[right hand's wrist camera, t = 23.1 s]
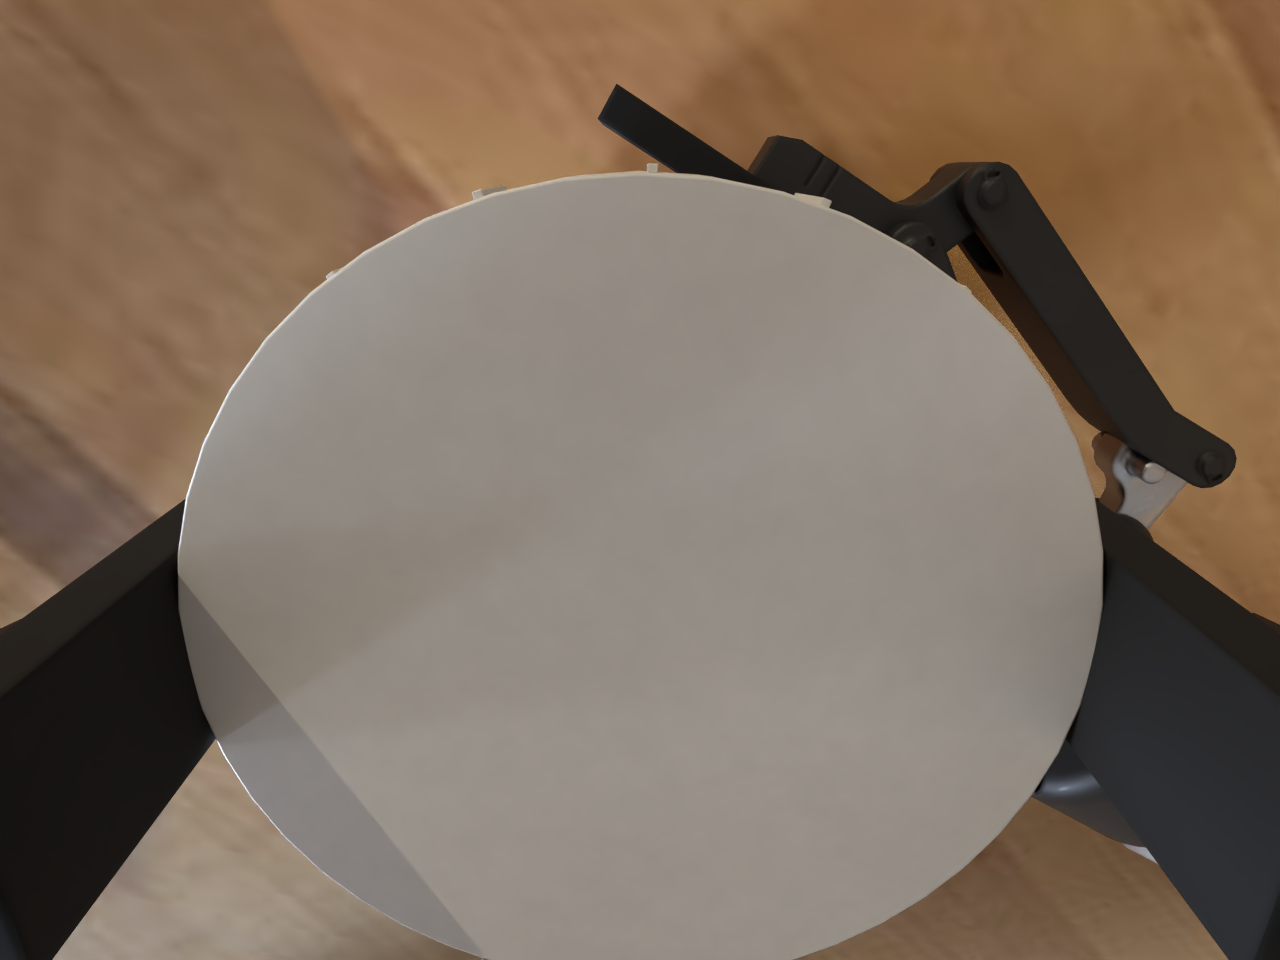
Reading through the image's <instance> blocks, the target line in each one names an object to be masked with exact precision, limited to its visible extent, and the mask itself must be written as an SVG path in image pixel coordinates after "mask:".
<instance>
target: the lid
mask: <svg viewBox="0 0 1280 960" xmlns="http://www.w3.org/2000/svg"><path fill="white" fill-rule="evenodd" d="M472 194H473V197H474V200H473V201H470V202H467V203H465V204H462V205H459V206H456V207H454V208H451V209H448V210H446V211H443V212H440V213H438V214H435V215H432V216H430V217H427V218H425V219H423V220H421V221H419V222H417V223H416V224H414V225H412V226H410V227H408V228H406V229H405V230H403V231H401V232H399V233H397V234H396V235H394V236H392V237H390V238H388V239H386V240H385V241H383V242H381V243H379V244H377V245H375V246H374V247H372V248H370V249H368V250H366V251H365V252H363V253H362V254H361V255H359V256H358V257H357V258H355V259H354V260H353V261H351V262H350V263H349V264H347V265H346V266H345V267H343V268H340V269H337V270H334V271H332V272H330V273H329V274H328V275H327V276H326V278H327V279H328V280H326V281H325V282H324V283H322V284H321V285H320V286H318V287H317V288H316V289H314V290H313V291H312V292H311V293H310V294H309V295H308V296H307V297H306V298H305V299H304V300H303V301H302V302H301V303H300V304H299V305H298V306H297V307H296V308H295V309H294V310H293V311H292V312H291V313H290V314H289V315H288V316H287V317H286V318H285V319H284V320H283V321H282V322H281V323H280V324H279V325H278V327H277V328H276V329H275V330H274V331H273V332H272V333H271V334H270V335H269V336H268V337H267V338H266V339H265V340H264V342H263V343H262V345H261V346H260V347H259V349H258V350H257V352H256V353H255V354H254V356H253V357H252V359H251V360H250V362H249V363H248V364H247V366H246V367H245V369H244V370H243V371H242V373H241V374H240V376H239V377H238V378H237V380H236V381H235V383H234V384H233V386H232V387H231V388H230V390H229V392H228V394H227V396H226V398H225V400H224V402H223V404H222V406H221V408H220V410H219V412H218V414H217V416H216V418H215V420H214V422H213V424H212V426H211V428H210V430H209V432H208V434H207V436H206V438H205V440H204V442H203V445H202V448H201V452H200V455H199V458H198V461H197V464H196V468H195V471H194V474H193V477H192V480H191V484H190V487H189V490H188V493H187V497H186V501H185V508H184V515H183V522H182V529H181V536H180V542H179V549H178V610H179V615H180V620H181V625H182V629H183V634H184V639H185V643H186V648H187V653H188V657H189V661H190V666H191V670H192V674H193V678H194V682H195V686H196V690H197V694H198V698H199V701H200V704H201V707H202V710H203V712H204V714H205V716H206V719H207V721H208V723H209V725H210V727H211V729H212V731H213V733H214V735H215V738H216V740H217V742H218V744H219V746H220V748H221V750H222V752H223V754H224V756H225V758H226V759H227V761H228V762H229V764H230V766H231V767H232V769H233V770H234V772H235V773H236V775H237V776H238V778H239V779H240V781H241V783H242V784H243V786H244V787H245V789H246V790H247V792H248V793H249V795H250V796H251V798H252V799H253V800H254V802H255V803H256V804H257V805H258V806H259V807H260V809H261V810H262V811H263V812H264V813H265V815H266V816H267V817H268V818H269V819H270V821H271V822H272V823H273V824H274V825H275V826H276V828H277V829H278V830H279V831H280V832H281V834H282V835H283V836H284V837H285V838H286V839H287V840H288V841H289V842H290V843H291V844H293V845H294V846H295V847H296V848H297V849H298V850H299V851H300V852H301V853H302V854H303V855H304V856H305V857H306V858H307V859H309V860H310V861H311V862H312V863H313V864H314V865H315V866H316V867H317V868H318V869H319V870H320V871H322V872H323V873H324V874H326V875H327V876H328V877H330V878H331V879H332V880H334V881H335V882H336V883H338V884H339V885H340V886H342V887H343V888H344V889H346V890H347V891H349V892H350V893H351V894H353V895H354V896H355V897H357V898H358V899H359V900H361V901H362V902H364V903H366V904H367V905H369V906H371V907H373V908H374V909H376V910H378V911H379V912H381V913H383V914H384V915H386V916H388V917H390V918H391V919H393V920H395V921H396V922H398V923H400V924H401V925H403V926H405V927H408V928H410V929H412V930H414V931H416V932H418V933H421V934H423V935H425V936H427V937H429V938H432V939H434V940H436V941H438V942H440V943H442V944H445V945H447V946H449V947H452V948H455V949H458V950H461V951H464V952H467V953H470V954H473V955H476V956H478V957H481V958H484V959H487V960H794V959H797V958H800V957H803V956H806V955H809V954H812V953H814V952H817V951H820V950H823V949H826V948H829V947H832V946H835V945H837V944H839V943H841V942H843V941H846V940H848V939H850V938H852V937H854V936H856V935H858V934H861V933H863V932H865V931H867V930H869V929H871V928H874V927H876V926H878V925H880V924H882V923H884V922H885V921H887V920H889V919H890V918H892V917H894V916H895V915H897V914H899V913H900V912H902V911H904V910H905V909H907V908H909V907H910V906H912V905H914V904H915V903H917V902H919V901H920V900H922V899H924V898H925V897H926V896H928V895H929V894H930V893H932V892H933V891H934V890H936V889H937V888H938V887H940V886H941V885H942V884H944V883H945V882H946V881H947V880H949V879H950V878H951V877H953V876H954V875H955V874H957V873H958V872H959V871H961V870H962V869H963V868H964V867H965V866H967V865H968V864H969V863H970V862H971V861H972V860H973V859H974V858H975V857H976V856H977V855H978V854H979V853H980V852H981V851H982V850H983V849H984V848H985V847H987V846H988V845H989V844H990V843H991V842H992V841H993V840H994V839H995V838H996V837H997V836H998V835H999V834H1000V833H1001V832H1002V831H1003V829H1004V828H1005V827H1006V826H1007V825H1008V823H1009V822H1010V821H1011V820H1012V818H1013V817H1014V816H1015V815H1016V814H1017V812H1018V811H1019V810H1020V809H1021V808H1022V806H1023V805H1024V804H1025V803H1026V802H1027V800H1028V799H1029V798H1030V797H1031V796H1032V794H1033V792H1034V791H1035V789H1036V788H1037V786H1038V785H1039V783H1040V781H1041V780H1042V778H1043V777H1044V775H1045V774H1046V772H1047V770H1048V769H1049V767H1050V766H1051V764H1052V763H1053V761H1054V759H1055V758H1056V756H1057V755H1058V753H1059V751H1060V749H1061V747H1062V745H1063V743H1064V740H1065V738H1066V736H1067V734H1068V732H1069V730H1070V727H1071V725H1072V723H1073V721H1074V719H1075V717H1076V714H1077V712H1078V710H1079V708H1080V706H1081V702H1082V699H1083V695H1084V691H1085V687H1086V683H1087V679H1088V675H1089V671H1090V667H1091V663H1092V658H1093V654H1094V650H1095V645H1096V640H1097V635H1098V631H1099V626H1100V621H1101V616H1102V609H1103V547H1102V540H1101V534H1100V528H1099V521H1098V515H1097V508H1096V502H1095V496H1094V492H1093V489H1092V486H1091V483H1090V480H1089V477H1088V473H1087V470H1086V467H1085V464H1084V461H1083V458H1082V455H1081V452H1080V449H1079V446H1078V443H1077V439H1076V438H1075V436H1074V434H1073V432H1072V430H1071V428H1070V426H1069V424H1068V422H1067V420H1066V418H1065V416H1064V414H1063V412H1062V410H1061V408H1060V406H1059V404H1058V402H1057V400H1056V398H1055V396H1054V394H1053V392H1052V390H1051V388H1050V386H1049V385H1048V384H1047V382H1046V381H1045V379H1044V378H1043V377H1042V375H1041V374H1040V372H1039V371H1038V370H1037V368H1036V367H1035V366H1034V364H1033V363H1032V361H1031V360H1030V359H1029V357H1028V356H1027V355H1026V353H1025V352H1024V350H1023V349H1022V348H1021V346H1020V345H1019V343H1018V342H1017V341H1016V339H1015V338H1014V337H1013V335H1012V334H1011V333H1010V332H1009V331H1008V330H1007V329H1006V328H1005V327H1004V326H1003V325H1002V324H1001V323H1000V322H999V321H998V320H997V319H996V318H995V317H994V316H993V315H992V314H991V313H990V312H989V311H988V310H987V309H986V308H985V307H984V306H983V305H982V304H981V303H980V302H979V301H978V300H977V299H976V298H975V297H974V296H973V295H972V294H971V293H972V291H971V290H970V289H969V288H968V287H967V286H964V285H961V284H959V283H958V282H956V281H955V280H954V279H952V278H951V277H950V276H948V275H947V274H946V273H944V272H943V271H942V270H940V269H939V268H938V267H936V266H935V265H934V264H932V263H931V262H929V261H928V260H927V259H925V258H924V257H923V256H921V255H920V254H919V253H917V252H916V251H915V250H913V249H912V248H910V247H908V246H906V245H904V244H902V243H900V242H899V241H897V240H895V239H893V238H891V237H889V236H887V235H886V234H884V233H882V232H880V231H878V230H876V229H874V228H872V227H871V226H869V225H867V224H865V223H863V222H861V221H859V220H858V219H856V218H854V217H852V216H850V215H847V214H844V213H841V212H838V211H836V210H833V209H830V208H829V207H830V205H831V202H832V201H831V200H828V199H826V198H823V197H817V196H811V195H805V194H799V193H795V195H792V194H789V193H786V192H783V191H778V190H773V189H769V188H764V187H759V186H754V185H749V184H745V183H740V182H735V181H730V180H725V179H721V178H716V177H711V176H704V175H697V174H681V173H666V172H658V164H651V163H649V164H647V171H628V172H615V173H601V174H588V175H577V176H570V177H564V178H559V179H554V180H550V181H545V182H541V183H536V184H532V185H527V186H522V187H518V188H513V189H509V190H507V189H506V186H500V187H493V188H486V189H480V190H477V191H474V192H472Z"/></svg>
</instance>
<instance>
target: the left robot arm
mask: <svg viewBox="0 0 1280 960" xmlns="http://www.w3.org/2000/svg"><path fill="white" fill-rule="evenodd" d="M598 120H599V121H600V122H601V123H602V124H603V125H604V126H606V127H607V128H609V129H610V130H612V131H613V132H615V133H616V134H618V135H619V136H621V137H623V138H624V139H626V140H627V141H629V142H630V143H632V144H633V145H635V146H636V147H638V148H639V149H641V150H642V151H644V152H645V153H647V154H648V155H650V156H651V157H653V158H655V159H656V160H658V161H659V162H661V163H662V164H664V165H665V166H667V167H668V168H670V169H671V170H673V171H674V172H676V173H681V174H697V175H704V176H711V177H716V178H721V179H725V180H730V181H735V182H740V183H745V184H749V185H754V186H759V187H764V188H769V189H773V190H778V191H783V192H786V193H789V194H792V195H795V193H799V194H805V195H811V196H817V197H823V198H826V199H828V200H831V201H832V202H831V205H830V207H829V208H830V209H833V210H836V211H838V212H841V213H844V214H847V215H850V216H852V217H854V218H856V219H858V220H859V221H861V222H863V223H865V224H867V225H869V226H871V227H872V228H874V229H876V230H878V231H880V232H882V233H884V234H886V235H887V236H889V237H891V238H893V239H895V240H897V241H899V242H900V243H902V244H904V245H906V246H908V247H910V248H912V249H913V250H915V251H916V252H917V253H919V254H920V255H921V256H923V257H924V258H925V259H927V260H928V261H929V262H931V263H932V264H934V265H935V266H936V267H938V268H939V269H940V270H942V271H943V272H944V273H946V274H947V275H948V276H950V277H951V278H952V279H954V280H955V281H956V282H957V279H956V277H955V274H954V271H953V269H952V266H951V263H950V260H949V258H948V255H947V252H948V251H949V250H950V249H952V248H953V247H954V246H956V245H957V244H958V246H959V247H960V249H961V250H962V252H963V253H964V254H965V256H966V257H967V259H968V260H969V261H970V263H971V264H972V266H973V267H974V269H975V270H976V271H977V273H978V274H979V276H980V277H981V278H982V280H983V281H984V283H985V284H986V286H987V287H988V288H989V290H990V291H991V293H992V294H993V295H994V297H995V298H996V300H997V301H998V303H999V304H1000V305H1001V307H1002V308H1003V310H1004V311H1005V312H1006V314H1007V315H1008V317H1009V318H1010V320H1011V321H1012V322H1013V324H1014V325H1015V327H1016V328H1017V330H1018V331H1019V332H1020V334H1021V335H1022V337H1023V338H1024V339H1025V341H1026V342H1027V344H1028V345H1029V347H1030V348H1031V349H1032V351H1033V352H1034V354H1035V355H1036V356H1037V358H1038V359H1039V361H1040V362H1041V364H1042V365H1043V366H1044V368H1045V369H1046V371H1047V372H1048V373H1049V375H1050V376H1051V378H1052V379H1053V381H1054V382H1055V383H1056V385H1057V386H1058V388H1059V389H1060V390H1061V392H1062V393H1063V395H1064V396H1065V398H1066V399H1067V400H1068V402H1069V403H1070V404H1071V405H1072V406H1073V408H1074V409H1075V410H1076V411H1077V413H1078V414H1080V415H1081V416H1082V417H1083V418H1084V419H1085V420H1086V421H1087V422H1088V423H1089V424H1091V425H1092V426H1094V427H1095V428H1097V429H1098V430H1100V431H1101V433H1099V434H1097V435H1096V436H1095V437H1094V439H1093V441H1092V447H1093V449H1094V450H1095V451H1094V459H1095V462H1096V464H1097V466H1098V467H1099V468H1100V469H1101V470H1102V471H1103V472H1104V474H1105V477H1106V487H1105V491H1104V493H1103V494H1102V496H1101V498H1095V499H1096V500H1098V501H1099V502H1100V503H1102V504H1103V505H1104V506H1106V507H1107V508H1109V509H1110V510H1111V511H1113V512H1114V513H1115V514H1117V515H1118V516H1119V517H1121V518H1122V519H1124V520H1125V521H1126V522H1128V523H1129V524H1130V525H1132V526H1133V527H1134V528H1136V529H1137V530H1139V531H1140V532H1141V533H1143V534H1144V535H1145V536H1147V537H1148V538H1149V539H1151V540H1152V541H1153V538H1152V536H1151V534H1150V532H1149V531H1148V528H1149V527H1150V526H1151V525H1152V524H1153V523H1154V521H1155V520H1156V519H1157V518H1158V517H1159V515H1160V514H1161V513H1162V512H1163V511H1164V510H1165V508H1166V507H1167V506H1168V505H1169V504H1170V503H1171V501H1172V500H1173V499H1174V498H1175V497H1176V496H1177V494H1178V493H1179V492H1180V491H1181V490H1182V488H1183V487H1184V486H1185V485H1186V484H1187V483H1190V484H1191V485H1193V486H1197V487H1200V488H1209V487H1213V486H1216V485H1218V484H1220V483H1222V482H1223V481H1224V480H1225V479H1227V478H1228V477H1229V476H1230V474H1231V473H1232V471H1233V469H1234V468H1235V464H1236V454H1235V451H1234V449H1233V448H1232V447H1231V446H1230V445H1229V444H1228V443H1226V442H1225V441H1223V440H1221V439H1220V438H1218V437H1216V436H1215V435H1213V434H1212V433H1210V432H1208V431H1207V430H1205V429H1203V428H1202V427H1200V426H1199V425H1197V424H1195V423H1194V422H1192V421H1190V420H1189V419H1187V418H1185V417H1184V416H1182V415H1181V414H1179V413H1177V412H1176V411H1174V409H1173V408H1172V406H1171V405H1170V403H1169V402H1168V400H1167V399H1166V397H1165V396H1164V394H1163V393H1162V391H1161V390H1160V388H1159V387H1158V385H1157V384H1156V382H1155V381H1154V379H1153V378H1152V376H1151V375H1150V373H1149V372H1148V370H1147V369H1146V367H1145V366H1144V364H1143V362H1142V361H1141V359H1140V358H1139V356H1138V355H1137V353H1136V352H1135V350H1134V349H1133V347H1132V346H1131V344H1130V343H1129V341H1128V340H1127V338H1126V337H1125V335H1124V334H1123V332H1122V331H1121V329H1120V328H1119V326H1118V325H1117V323H1116V322H1115V320H1114V319H1113V317H1112V316H1111V314H1110V312H1109V311H1108V309H1107V308H1106V306H1105V305H1104V303H1103V302H1102V300H1101V299H1100V297H1099V296H1098V294H1097V293H1096V291H1095V290H1094V288H1093V287H1092V285H1091V284H1090V282H1089V281H1088V279H1087V278H1086V276H1085V275H1084V273H1083V272H1082V270H1081V269H1080V267H1079V266H1078V264H1077V263H1076V261H1075V259H1074V258H1073V256H1072V255H1071V253H1070V252H1069V250H1068V249H1067V247H1066V246H1065V244H1064V243H1063V241H1062V240H1061V238H1060V237H1059V235H1058V234H1057V232H1056V231H1055V229H1054V228H1053V226H1052V225H1051V223H1050V222H1049V220H1048V219H1047V217H1046V216H1045V214H1044V213H1043V211H1042V210H1041V208H1040V206H1039V205H1038V203H1037V202H1036V200H1035V199H1034V197H1033V196H1032V194H1031V193H1030V191H1029V190H1028V188H1027V187H1026V185H1025V184H1024V182H1023V181H1022V179H1021V178H1020V176H1019V175H1018V173H1017V172H1016V171H1015V170H1014V169H1013V168H1012V167H1011V166H1010V165H1007V164H1004V163H1001V162H957V163H950V164H946V165H944V166H942V167H941V168H939V169H938V170H937V171H936V172H935V173H934V174H933V176H932V177H931V179H930V181H929V182H928V183H927V184H925V185H924V186H923V187H922V188H920V189H919V190H918V191H916V192H915V193H914V194H913V195H911V196H909V197H908V198H906V199H905V200H902V201H899V202H892V201H891V200H889V199H887V198H886V197H884V196H883V195H881V194H880V193H879V192H877V191H876V190H874V189H873V188H871V187H870V186H868V185H867V184H865V183H864V182H863V181H861V180H860V179H858V178H857V177H855V176H854V175H852V174H851V173H850V172H848V171H847V170H845V169H844V168H842V167H840V166H839V165H838V164H836V163H835V162H834V161H832V160H831V159H829V158H828V157H826V156H824V155H823V154H822V153H820V152H819V151H818V150H816V149H815V148H813V147H812V146H810V145H809V144H807V143H806V142H804V141H803V140H800V139H794V138H789V137H783V136H778V135H777V136H773V137H768V138H767V140H766V141H765V143H764V145H763V146H762V148H761V150H760V151H759V153H758V154H757V156H756V158H755V159H754V161H753V163H752V164H751V166H750V167H749V169H748V171H746V170H745V169H743V168H742V167H740V166H739V165H737V164H736V163H734V162H733V161H731V160H730V159H728V158H727V157H725V156H724V155H722V154H721V153H719V152H718V151H716V150H715V149H713V148H712V147H710V146H709V145H707V144H706V143H704V142H703V141H701V140H700V139H698V138H697V137H695V136H694V135H692V134H691V133H689V132H688V131H686V130H685V129H683V128H682V127H680V126H679V125H677V124H676V123H674V122H673V121H671V120H670V119H668V118H667V117H665V116H664V115H662V114H661V113H660V112H658V111H657V110H655V109H654V108H652V107H651V106H649V105H648V104H646V103H645V102H643V101H642V100H640V99H639V98H637V97H636V96H634V95H633V94H631V93H630V92H628V91H627V90H625V89H624V88H622V87H621V86H619V85H618V84H616V86H615V88H614V89H613V91H612V93H611V95H610V97H609V99H608V101H607V102H606V104H605V106H604V108H603V110H602V112H601V114H600V115H599V117H598ZM1032 797H1034V798H1036V799H1038V800H1039V801H1041V802H1043V803H1045V804H1047V805H1049V806H1051V807H1052V808H1054V809H1056V810H1058V811H1060V812H1062V813H1064V814H1066V815H1067V816H1069V817H1071V818H1073V819H1075V820H1077V821H1079V822H1080V823H1082V824H1084V825H1086V826H1088V827H1090V828H1092V829H1093V830H1095V831H1097V832H1099V833H1101V834H1103V835H1105V836H1106V837H1108V838H1110V839H1113V840H1115V841H1118V842H1121V843H1122V844H1123V845H1124V846H1125V847H1126V848H1128V849H1130V850H1132V851H1133V852H1135V853H1137V854H1139V855H1141V856H1143V857H1145V858H1147V859H1149V860H1150V861H1152V862H1154V863H1156V864H1158V863H1157V862H1156V861H1155V859H1154V858H1153V856H1152V855H1151V854H1150V852H1149V851H1148V850H1147V848H1146V847H1145V846H1144V844H1143V843H1142V842H1141V840H1140V839H1139V838H1138V836H1137V835H1136V834H1135V832H1134V831H1133V829H1132V828H1131V827H1130V825H1129V824H1128V823H1127V821H1126V820H1125V819H1124V817H1123V816H1122V815H1121V813H1120V812H1119V811H1118V809H1117V808H1116V807H1115V805H1114V804H1113V802H1112V801H1111V800H1110V798H1109V797H1108V796H1107V794H1106V793H1105V792H1104V790H1103V789H1102V788H1101V786H1100V785H1099V784H1098V782H1097V781H1096V779H1095V778H1094V777H1093V775H1092V774H1091V773H1090V771H1089V770H1088V769H1087V767H1086V766H1085V765H1084V763H1083V762H1082V761H1081V759H1080V758H1079V757H1078V755H1077V754H1076V752H1075V751H1074V750H1073V748H1072V747H1071V746H1070V744H1069V743H1068V742H1067V740H1066V739H1065V740H1064V743H1063V745H1062V747H1061V749H1060V751H1059V753H1058V755H1057V756H1056V758H1055V759H1054V761H1053V763H1052V764H1051V766H1050V767H1049V769H1048V770H1047V772H1046V774H1045V775H1044V777H1043V778H1042V780H1041V781H1040V783H1039V785H1038V786H1037V788H1036V789H1035V791H1034V792H1033V794H1032Z"/></svg>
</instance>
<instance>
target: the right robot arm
mask: <svg viewBox="0 0 1280 960" xmlns="http://www.w3.org/2000/svg"><path fill="white" fill-rule="evenodd" d="M185 501H186V499H185V500H183V501H182V502H181V503H179V504H178V505H177V506H175V507H174V508H172V509H171V510H170V511H168V512H167V513H166V514H164V515H163V516H162V517H160V518H159V519H157V520H156V521H155V522H153V523H152V524H151V525H149V526H148V527H147V528H145V529H144V530H142V531H141V532H140V533H138V534H137V535H136V536H134V537H133V538H132V539H130V540H129V541H127V542H126V543H125V544H123V545H122V546H121V547H119V548H118V549H117V550H115V551H114V552H112V553H111V554H110V555H108V556H107V557H106V558H104V559H103V560H102V561H100V562H99V563H97V564H96V565H95V566H93V567H92V568H91V569H89V570H88V571H87V572H85V573H84V574H82V575H81V576H80V577H78V578H77V579H76V580H74V581H73V582H72V583H70V584H69V585H67V586H66V587H65V588H63V589H62V590H61V591H59V592H58V593H57V594H55V595H54V596H52V597H51V598H50V599H48V600H47V601H46V602H44V603H43V604H42V605H40V606H39V607H37V608H36V609H35V610H33V611H32V612H31V613H29V614H28V615H27V616H25V617H24V618H22V619H20V620H18V621H16V622H14V623H12V624H9V625H7V626H5V627H3V628H1V629H0V960H52V959H53V958H54V956H55V955H56V954H57V952H58V951H59V950H60V948H61V947H62V946H63V944H64V943H65V941H66V940H67V939H68V937H69V936H70V935H71V933H72V932H73V931H74V929H75V928H76V927H77V925H78V924H79V923H80V921H81V920H82V918H83V917H84V916H85V914H86V913H87V912H88V910H89V909H90V908H91V906H92V905H93V904H94V902H95V901H96V900H97V898H98V897H99V896H100V894H101V893H102V891H103V890H104V889H105V887H106V886H107V885H108V883H109V882H110V881H111V879H112V878H113V877H114V875H115V874H116V873H117V871H118V870H119V869H120V867H121V866H122V864H123V863H124V862H125V860H126V859H127V858H128V856H129V855H130V854H131V852H132V851H133V850H134V848H135V847H136V846H137V844H138V843H139V841H140V840H141V839H142V837H143V836H144V835H145V833H146V832H147V831H148V829H149V828H150V827H151V825H152V824H153V823H154V821H155V820H156V819H157V817H158V816H159V814H160V813H161V812H162V810H163V809H164V808H165V806H166V805H167V804H168V802H169V801H170V800H171V798H172V797H173V796H174V794H175V793H176V792H177V790H178V789H179V787H180V786H181V785H182V783H183V782H184V781H185V779H186V778H187V777H188V775H189V774H190V773H191V771H192V770H193V769H194V767H195V766H196V764H197V763H198V762H199V760H200V759H201V758H202V756H203V755H204V754H205V752H206V751H207V750H208V748H209V747H210V746H211V744H212V743H213V742H214V740H215V739H216V738H215V735H214V733H213V731H212V729H211V727H210V725H209V723H208V721H207V719H206V716H205V714H204V712H203V710H202V707H201V704H200V701H199V698H198V694H197V690H196V686H195V682H194V678H193V674H192V670H191V666H190V661H189V657H188V653H187V648H186V643H185V639H184V634H183V629H182V625H181V620H180V615H179V610H178V549H179V542H180V536H181V529H182V522H183V515H184V508H185ZM1095 502H1096V508H1097V515H1098V521H1099V528H1100V534H1101V540H1102V547H1103V609H1102V616H1101V621H1100V626H1099V631H1098V635H1097V640H1096V645H1095V650H1094V654H1093V658H1092V663H1091V667H1090V671H1089V675H1088V679H1087V683H1086V687H1085V691H1084V695H1083V699H1082V702H1081V706H1080V708H1079V710H1078V712H1077V714H1076V717H1075V719H1074V721H1073V723H1072V725H1071V727H1070V730H1069V732H1068V734H1067V736H1066V738H1065V739H1066V740H1067V742H1068V743H1069V744H1070V746H1071V747H1072V748H1073V750H1074V751H1075V752H1076V754H1077V755H1078V757H1079V758H1080V759H1081V761H1082V762H1083V763H1084V765H1085V766H1086V767H1087V769H1088V770H1089V771H1090V773H1091V774H1092V775H1093V777H1094V778H1095V779H1096V781H1097V782H1098V784H1099V785H1100V786H1101V788H1102V789H1103V790H1104V792H1105V793H1106V794H1107V796H1108V797H1109V798H1110V800H1111V801H1112V802H1113V804H1114V805H1115V807H1116V808H1117V809H1118V811H1119V812H1120V813H1121V815H1122V816H1123V817H1124V819H1125V820H1126V821H1127V823H1128V824H1129V825H1130V827H1131V828H1132V829H1133V831H1134V832H1135V834H1136V835H1137V836H1138V838H1139V839H1140V840H1141V842H1142V843H1143V844H1144V846H1145V847H1146V848H1147V850H1148V851H1149V852H1150V854H1151V855H1152V856H1153V858H1154V859H1155V861H1156V862H1157V863H1158V865H1159V866H1160V867H1161V869H1162V870H1163V871H1164V873H1165V874H1166V875H1167V877H1168V878H1169V879H1170V881H1171V882H1172V884H1173V885H1174V886H1175V888H1176V889H1177V890H1178V892H1179V893H1180V894H1181V896H1182V897H1183V898H1184V900H1185V901H1186V902H1187V904H1188V905H1189V906H1190V908H1191V909H1192V911H1193V912H1194V913H1195V915H1196V916H1197V917H1198V919H1199V920H1200V921H1201V923H1202V924H1203V925H1204V927H1205V928H1206V929H1207V931H1208V932H1209V933H1210V935H1211V936H1212V938H1213V939H1214V940H1215V942H1216V943H1217V944H1218V946H1219V947H1220V948H1221V950H1222V951H1223V952H1224V954H1225V955H1226V956H1227V958H1228V959H1229V960H1280V625H1279V624H1277V623H1274V622H1272V621H1270V620H1268V619H1266V618H1264V617H1262V616H1259V615H1257V614H1255V613H1250V612H1249V611H1248V610H1246V609H1245V608H1244V607H1242V606H1241V605H1239V604H1238V603H1237V602H1235V601H1234V600H1233V599H1231V598H1230V597H1229V596H1227V595H1226V594H1224V593H1223V592H1222V591H1220V590H1219V589H1218V588H1216V587H1215V586H1214V585H1212V584H1211V583H1209V582H1208V581H1207V580H1205V579H1204V578H1203V577H1201V576H1200V575H1199V574H1197V573H1196V572H1194V571H1193V570H1192V569H1190V568H1189V567H1188V566H1186V565H1185V564H1184V563H1182V562H1181V561H1179V560H1178V559H1177V558H1175V557H1174V556H1173V555H1171V554H1170V553H1169V552H1167V551H1166V550H1164V549H1163V548H1162V547H1160V546H1159V545H1158V544H1156V543H1155V542H1154V541H1152V540H1151V539H1149V538H1148V537H1147V536H1145V535H1144V534H1143V533H1141V532H1140V531H1139V530H1137V529H1136V528H1134V527H1133V526H1132V525H1130V524H1129V523H1128V522H1126V521H1125V520H1124V519H1122V518H1121V517H1119V516H1118V515H1117V514H1115V513H1114V512H1113V511H1111V510H1110V509H1109V508H1107V507H1106V506H1104V505H1103V504H1102V503H1100V502H1099V501H1098V500H1096V499H1095Z"/></svg>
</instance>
